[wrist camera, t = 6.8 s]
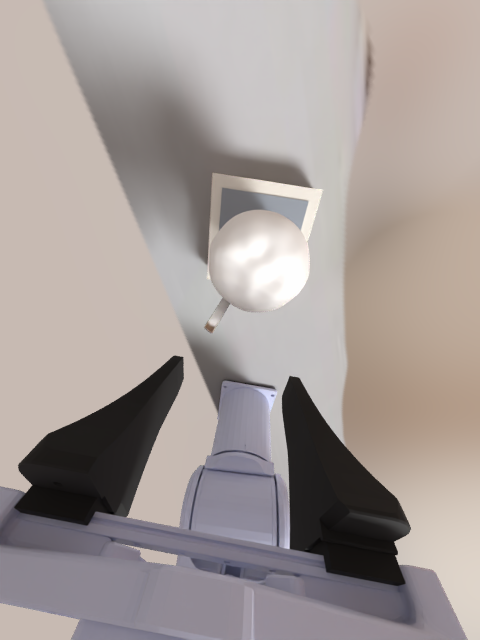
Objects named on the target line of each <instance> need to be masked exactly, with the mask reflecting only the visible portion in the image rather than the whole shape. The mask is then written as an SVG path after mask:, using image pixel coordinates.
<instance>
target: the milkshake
mask: <svg viewBox="0 0 480 640" xmlns="http://www.w3.org/2000/svg"><path fill="white" fill-rule="evenodd" d="M309 270H310V256H309V248H308V244H307V241H306V239H305V237H304V235H303V233H302V232H301V231H300V229H299V228H298V227H297V226H296V225H295V224H294V223H293V222H292V221H291V220H289V219H288V218H286V217H285V216H283V215H281V214H278V213H276V212H272V211H267V210H251V211H246V212H243V213H240V214H238V215H236V216H234V217H233V218H231V219H230V220H229V221H228V222H227V223H226V224H225V225H224V226H223V227H222V228H221V229H220V230H219V232H218V233H217V234H216V236H215V238H214V239H213V241H212V243H211V246H210V250H209V274H210V278H211V281H212V283H213V285H214V287H215V289H216V290H217V291H218V293H219V294H220V295H221V296H222V297H223V298H222V300H221V301H220V303H219V305H218V306H217V308H216V309H215V311H214V312H213V314H212V315H211V317H210V318H209V320H208V322H207V323H206V325H205V327H204V328H205V329H206V330H207V331H208V332H210V333H213V332H214V330H215V328H216V327H217V325H218V323H219V322H220V320H221V318H222V317H223V315H224V313H225V311H226V310H227V308H228V306H229V305H230V304H232V305H233V306H235V307H237V308H239V309H241V310H244V311H247V312H267V311H271V310H275V309H278V308H280V307H281V306H283V305H285V304H286V303H288V302H289V301H290V300H292V299H293V298H294V297H295V296H296V295H297V294H298V293H299V292H300V291H301V290H302V288H303V287H304V285H305V283H306V281H307V279H308V276H309Z"/></svg>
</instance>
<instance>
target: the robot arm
mask: <svg viewBox="0 0 480 640" xmlns="http://www.w3.org/2000/svg"><path fill="white" fill-rule="evenodd" d="M183 376H184V373H183V357H180V356H173V357H172V358H171V359H170V360H169V361H167V362H166V363H165V364H164V365H163V366H162V367H161V368H159V369H158V370H157V371H156V372H155V373H153V374H152V375H151V376H150V377H149V378H147V379H146V380H145V381H144V382H142V383H141V384H139V385H138V386H137V387H135V388H134V389H132V390H131V391H130V392H128V393H127V394H125V395H124V396H122V397H120V398H119V399H117V400H116V401H114V402H112V403H111V404H109V405H107V406H105V407H104V408H102V409H100V410H98V411H96V412H94V413H92V414H90V415H88V416H87V417H85V418H83V419H80V420H78V421H76V422H74V423H72V424H70V425H67V426H65V427H63V428H61V429H58V430H56V431H54V432H51V433H49V434H48V435H46V436H45V437H44V438H43V439H42V440H41V441H40V442H39V443H38V444H37V446H35V448H34V449H33V450H32V451H31V452H30V453H29V454H28V455H27V456H26V457H25V458H24V459H23V460H22V461H21V463H20V464H19V465H18V466H19V467H18V468H19V471H20V472H21V474H23V476H24V477H25V478H26V479H27V480H28V481H29V482H30V483H31V484H32V486H31V488H30V489H29V490H28V491H27V493H24V492H22V491H19V490H15V489H10V488H5V487H0V603H3V604H8V605H13V606H18V607H23V608H28V609H33V610H38V611H42V612H47V613H52V614H58V615H62V616H67V617H71V618H76V619H80V621H79V623H78V625H77V627H76V630H75V632H74V634H73V636H72V638H71V640H468V639H467V637H466V635H465V633H464V631H463V629H462V627H461V625H460V623H459V621H458V619H457V616H456V614H455V612H454V610H453V608H452V606H451V604H450V602H449V600H448V598H447V596H446V593H445V591H444V589H443V587H442V585H441V583H440V581H439V579H438V577H437V574H436V573H435V572H434V571H433V570H430V569H425V568H420V567H415V566H409V565H398V562H397V560H396V557H395V555H397V554H398V551H397V549H396V546H395V543H394V541H396V540H398V539H400V538H402V537H404V536H406V535H407V534H409V532H410V530H411V527H410V525H409V522H408V520H407V518H406V516H405V514H404V511H403V510H402V507H401V506H400V503H399V501H398V500H397V498H396V497H395V496H394V495H393V494H391V493H390V492H389V491H388V490H387V489H386V488H385V487H384V486H383V485H382V484H381V483H380V482H379V481H378V480H376V479H375V478H374V477H373V476H372V475H371V474H370V473H369V472H368V471H367V470H366V469H365V468H364V467H363V466H362V465H361V463H360V462H359V461H358V460H357V459H356V458H355V457H354V456H353V455H352V454H351V452H350V451H349V450H348V449H347V448H346V447H345V446H344V444H343V443H342V442H341V441H340V440H339V438H338V437H337V436H336V435H335V433H334V432H333V431H332V429H331V428H330V427H329V425H328V424H327V423H326V421H325V420H324V418H323V417H322V415H321V414H320V412H319V411H318V409H317V408H316V406H315V404H314V403H313V401H312V399H311V398H310V396H309V394H308V393H307V391H306V389H305V387H304V386H303V384H302V382H301V380H300V379H299V378H298V377H292V376H290V377H289V379H288V382H287V385H286V387H285V390H284V392H283V395H282V413H283V421H284V428H285V435H286V442H287V450H288V465H289V493H290V512H289V501H288V493H287V487H286V483H285V481H284V480H283V479H282V477H281V475H280V474H276V473H275V474H274V463H273V462H271V435H270V411H271V409H272V406H273V403H274V400H275V398H276V395H277V391H276V390H275V389H271V388H265V387H260V386H254V385H248V384H243V383H237V382H232V381H223V382H222V388H221V395H220V403H219V411H218V418H217V419H218V424H217V429H216V434H215V439H214V443H213V448H212V453H211V456H207V459H206V463H205V466H204V465H200V466H199V467H198V468H197V470H195V471H194V473H193V474H192V476H191V478H190V481H189V483H188V486H187V489H186V493H185V497H184V501H183V506H182V511H181V517H180V527H179V528H178V527H172V526H167V525H162V524H157V523H152V522H147V521H142V520H137V519H131V518H126V517H127V516H128V514H129V510H130V508H131V505H132V502H133V499H134V496H135V493H136V490H137V488H138V485H139V482H140V479H141V476H142V474H143V471H144V468H145V465H146V463H147V460H148V457H149V455H150V453H151V450H152V447H153V445H154V442H155V440H156V437H157V435H158V433H159V430H160V428H161V426H162V424H163V422H164V420H165V418H166V416H167V414H168V412H169V410H170V408H171V406H172V404H173V402H174V400H175V398H176V396H177V394H178V392H179V390H180V387H181V384H182V382H183V379H184V377H183ZM272 394H273V395H272ZM122 544H125V545H130V546H135V547H140V548H145V549H150V550H155V551H161V552H165V553H171V554H176V555H178V557H177V564H176V566H174V565H166V564H159V563H150V562H146V561H145V560H144V559H142V558H141V557H140V550H137V549H134V548H131V547H128V546H125V545H122Z"/></svg>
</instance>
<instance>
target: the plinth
mask: <svg viewBox="0 0 480 640" xmlns="http://www.w3.org/2000/svg"><path fill="white" fill-rule="evenodd" d="M322 192H323V190H320V189H313V188H307V187H301V186H294V185H288V184H282V183H275V182H269V181H263V180H256V179H250V178H244V177H238V176H231V175H225V174H219V173H212V189H211V209H210V229H209V249H208V268H207V279H208V280H211V278H210V274H209V250H210V246H211V243H212V241H213V239H214V238H215V236H216V234H217V233H218V232H219V230H220V229H221V228H222V227H223V226H224V225H225V224H226V223H227V222H228V221H229V220H230V219H231V218H233V217H234V216H236V215H238V214H240V213H243V212H246V211H251V210H267V211H272V212H276V213H278V214H281V215H283V216H285V217H286V218H288V219H289V220H291V221H292V222H293V223H294V224H295V225H296V226H297V227H298V228H299V229H300V231H301V232H302V233H303V235H304V237H305V239H306V241H307V242H308V239H309V236H310V232H311V229H312V226H313V222H314V219H315V216H316V212H317V209H318V206H319V202H320V199H321V196H322Z"/></svg>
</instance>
